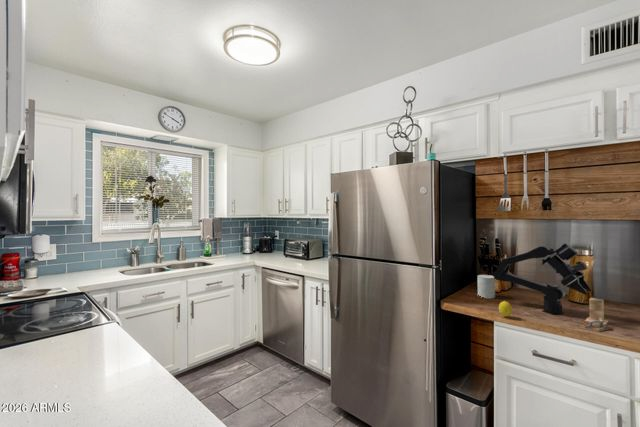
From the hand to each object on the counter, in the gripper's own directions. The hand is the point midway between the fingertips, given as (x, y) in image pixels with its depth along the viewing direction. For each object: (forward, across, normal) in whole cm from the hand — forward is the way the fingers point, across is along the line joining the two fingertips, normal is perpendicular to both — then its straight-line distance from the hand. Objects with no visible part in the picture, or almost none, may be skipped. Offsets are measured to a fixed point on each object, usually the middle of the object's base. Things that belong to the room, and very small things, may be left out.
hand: (588, 292), depth 142 cm
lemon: (-10, -25, +29) cm, 39 cm away
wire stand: (+13, -10, +6) cm, 17 cm away
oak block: (+11, 0, +7) cm, 13 cm away
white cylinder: (-25, +6, +44) cm, 51 cm away
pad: (+11, 0, +7) cm, 13 cm away
